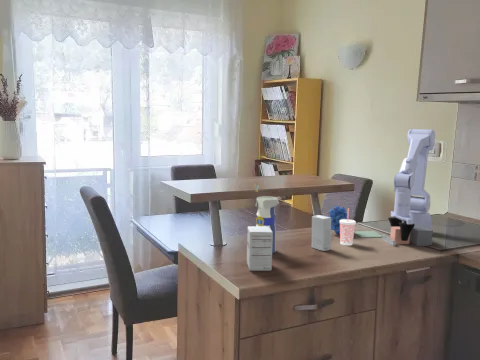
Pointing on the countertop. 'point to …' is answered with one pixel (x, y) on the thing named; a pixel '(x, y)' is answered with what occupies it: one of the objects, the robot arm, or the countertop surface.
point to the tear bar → (388, 240)
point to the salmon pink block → (398, 235)
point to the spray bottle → (267, 214)
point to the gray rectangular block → (421, 235)
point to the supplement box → (259, 248)
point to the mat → (367, 234)
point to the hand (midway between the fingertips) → (399, 238)
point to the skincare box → (321, 232)
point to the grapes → (337, 217)
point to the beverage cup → (347, 230)
